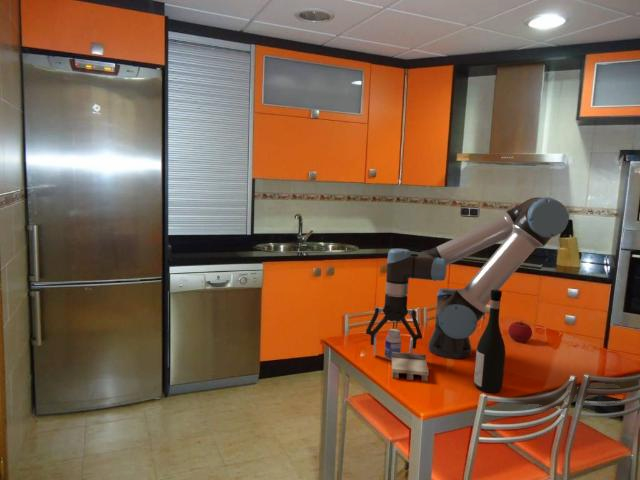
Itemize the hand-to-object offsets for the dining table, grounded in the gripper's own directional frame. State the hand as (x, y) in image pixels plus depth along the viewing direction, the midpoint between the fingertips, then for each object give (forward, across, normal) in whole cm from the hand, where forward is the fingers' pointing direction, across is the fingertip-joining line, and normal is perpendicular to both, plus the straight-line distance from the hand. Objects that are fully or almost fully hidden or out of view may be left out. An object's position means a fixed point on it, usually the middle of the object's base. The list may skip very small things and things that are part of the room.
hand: (392, 355), depth 161 cm
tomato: (+1, -51, -32) cm, 60 cm away
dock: (+1, -5, +12) cm, 13 cm away
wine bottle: (+1, -28, +18) cm, 33 cm away
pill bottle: (+1, 0, 0) cm, 1 cm away
